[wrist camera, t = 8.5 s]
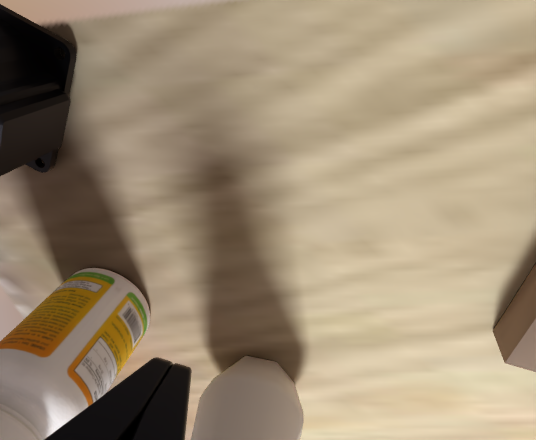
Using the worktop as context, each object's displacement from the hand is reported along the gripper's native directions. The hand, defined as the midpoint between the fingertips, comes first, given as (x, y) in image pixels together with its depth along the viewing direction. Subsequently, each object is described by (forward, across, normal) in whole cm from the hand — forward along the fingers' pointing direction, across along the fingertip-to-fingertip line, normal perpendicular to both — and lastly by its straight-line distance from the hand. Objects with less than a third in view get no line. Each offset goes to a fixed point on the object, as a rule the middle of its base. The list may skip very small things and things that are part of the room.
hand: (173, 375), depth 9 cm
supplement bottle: (+11, +8, +10) cm, 17 cm away
